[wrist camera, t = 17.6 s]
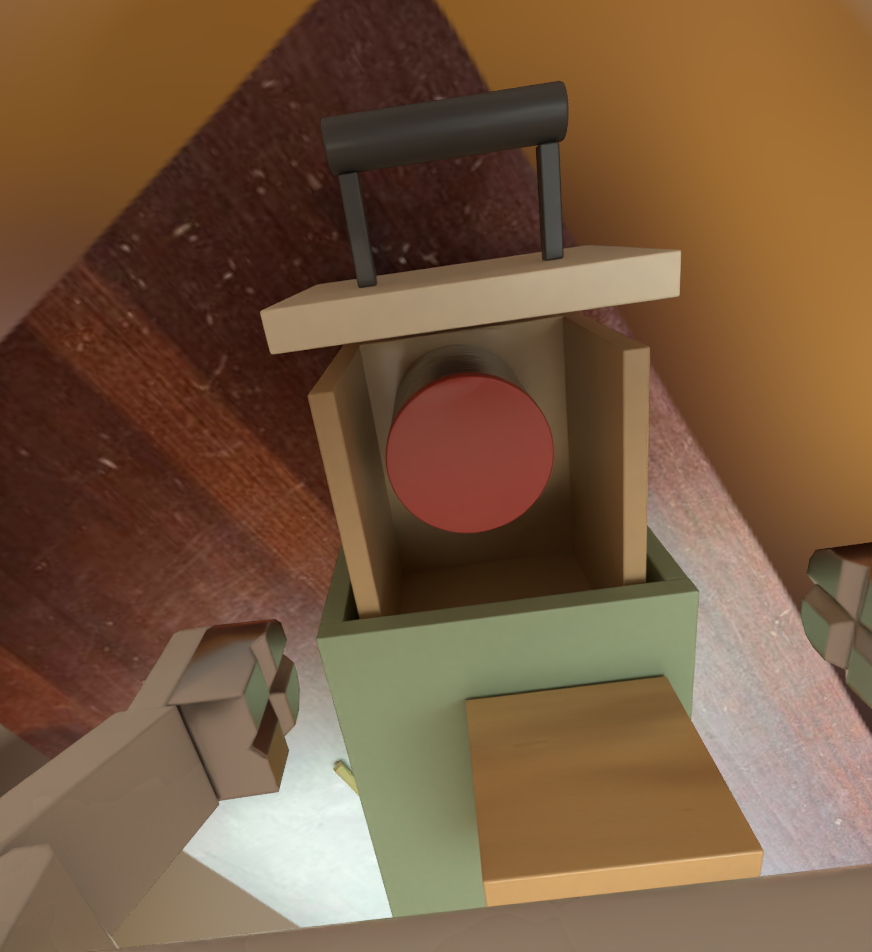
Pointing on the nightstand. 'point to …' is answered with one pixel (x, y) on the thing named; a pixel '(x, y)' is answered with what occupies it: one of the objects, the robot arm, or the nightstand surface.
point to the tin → (467, 441)
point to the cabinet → (474, 677)
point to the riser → (599, 795)
